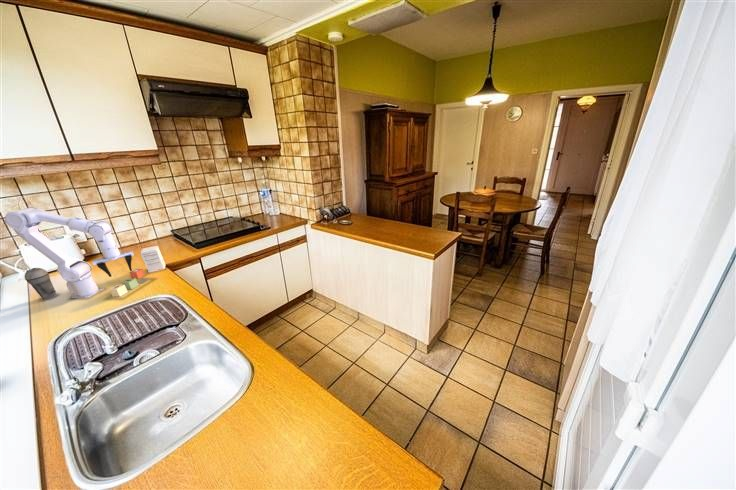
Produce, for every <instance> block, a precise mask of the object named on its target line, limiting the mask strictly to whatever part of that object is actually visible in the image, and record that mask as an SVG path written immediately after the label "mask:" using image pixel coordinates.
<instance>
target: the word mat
mask: <svg viewBox="0 0 736 490" xmlns="http://www.w3.org/2000/svg"><path fill="white" fill-rule="evenodd" d="M149 280H151V278H140V279H139V280H137V282H138V284H139V285H138V286H137V287H135V288H133V289H132V290H127V291H128V292H127V293H125V294H124V295H122V296H120V297H119V298H122V297H124V296H125V295H126V294H128V293H130V291H133V290H135V289H136V288H138V287H140V286H141V285H143V284H144V283H146V282H148V281H149ZM111 298H114V297H113V296H112V295H111Z"/></svg>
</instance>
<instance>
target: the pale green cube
mask: <svg viewBox="0 0 736 490" xmlns="http://www.w3.org/2000/svg"><path fill="white" fill-rule="evenodd" d="M137 281H138V280H137V278H132V277H129V278H127V279H125V280H123V281H122V282H120V283H121V285H125V287H126V289H127V291H133V290H134V289H133V288H135V287H136V288H138V287H139V286H138V285H140V284H138V282H137ZM137 286H138V287H137ZM136 288H135V289H136ZM132 289H133V290H132Z"/></svg>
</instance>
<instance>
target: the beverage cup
mask: <svg viewBox="0 0 736 490" xmlns="http://www.w3.org/2000/svg"><path fill="white" fill-rule="evenodd" d="M22 263H23V264H24V265H25V266H26V268H27V269H28V270H26V272H25V273H24V279H25V281H26V282H27V283H28V284H29V285H30V286H31V287H32V288H33V290H35V291H36V293H37V294H38V296H39V297H40V298H41V299H43V301H46V300H47V301H48V300H52V299H53V298H55V297H57V296H58V295H57V292H56V289H55V287H54V285H53V282H52V281H51V278H50V274H49V272H48V271H47V270H46V269H44V268H41V267H33V268H31V267H30V266H29V265H28V264H27V263H26V261H25V260H22Z"/></svg>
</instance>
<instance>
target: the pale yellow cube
mask: <svg viewBox="0 0 736 490" xmlns="http://www.w3.org/2000/svg"><path fill="white" fill-rule="evenodd" d="M108 290H109V293H110V294H111V297H112V296H113V297H112V298H121V297H120V296H122V295H123V296H125V295H126V294H128V293H129V292H128V291H129V290H127V289H126V287H125V285H122V284H116V285H114V286H113V287H110V288H109V289H108ZM127 292H128V293H127ZM125 293H126V294H125ZM124 294H125V295H124ZM123 296H122V297H123Z"/></svg>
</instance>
